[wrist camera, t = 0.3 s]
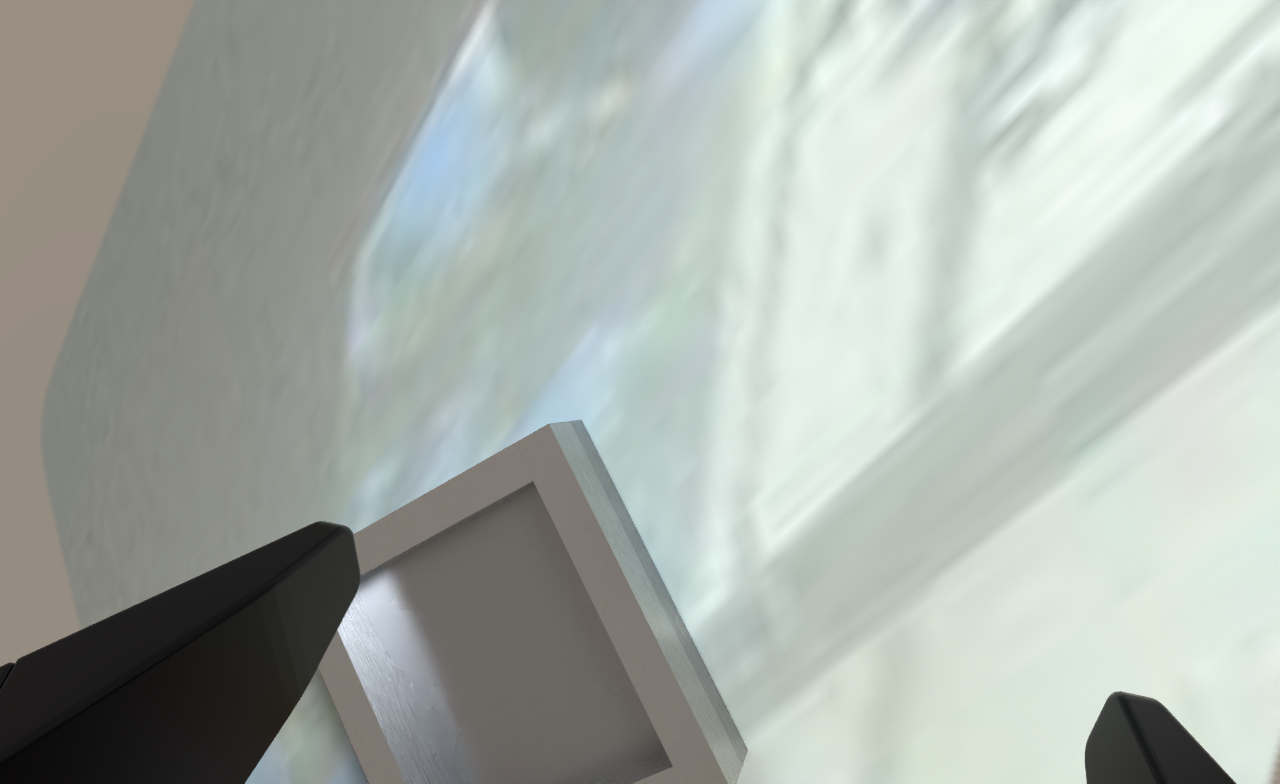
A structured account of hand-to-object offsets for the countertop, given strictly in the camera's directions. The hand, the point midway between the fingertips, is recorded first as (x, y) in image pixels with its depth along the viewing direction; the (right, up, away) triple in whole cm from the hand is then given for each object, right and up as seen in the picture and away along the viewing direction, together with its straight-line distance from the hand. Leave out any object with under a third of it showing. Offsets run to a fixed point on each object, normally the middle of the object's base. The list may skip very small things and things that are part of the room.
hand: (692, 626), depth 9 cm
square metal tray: (-4, -5, +16) cm, 17 cm away
